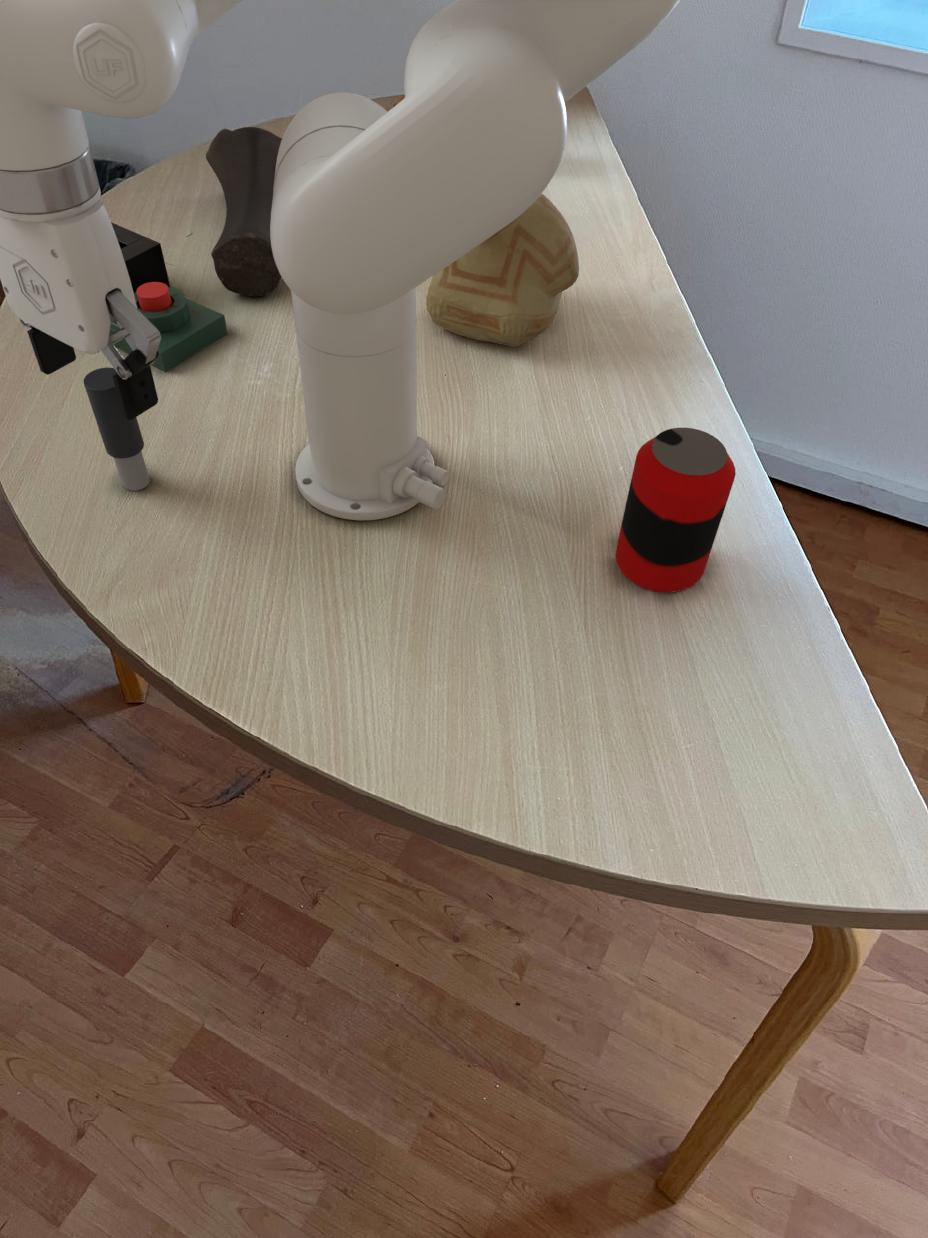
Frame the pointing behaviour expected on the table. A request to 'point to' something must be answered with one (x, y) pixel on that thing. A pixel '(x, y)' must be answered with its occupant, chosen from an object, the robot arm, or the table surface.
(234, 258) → the dark brown bone
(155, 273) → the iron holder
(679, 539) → the soda can
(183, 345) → the station
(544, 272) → the ceramic vessel
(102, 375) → the soldering iron
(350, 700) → the table surface
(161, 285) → the power button
